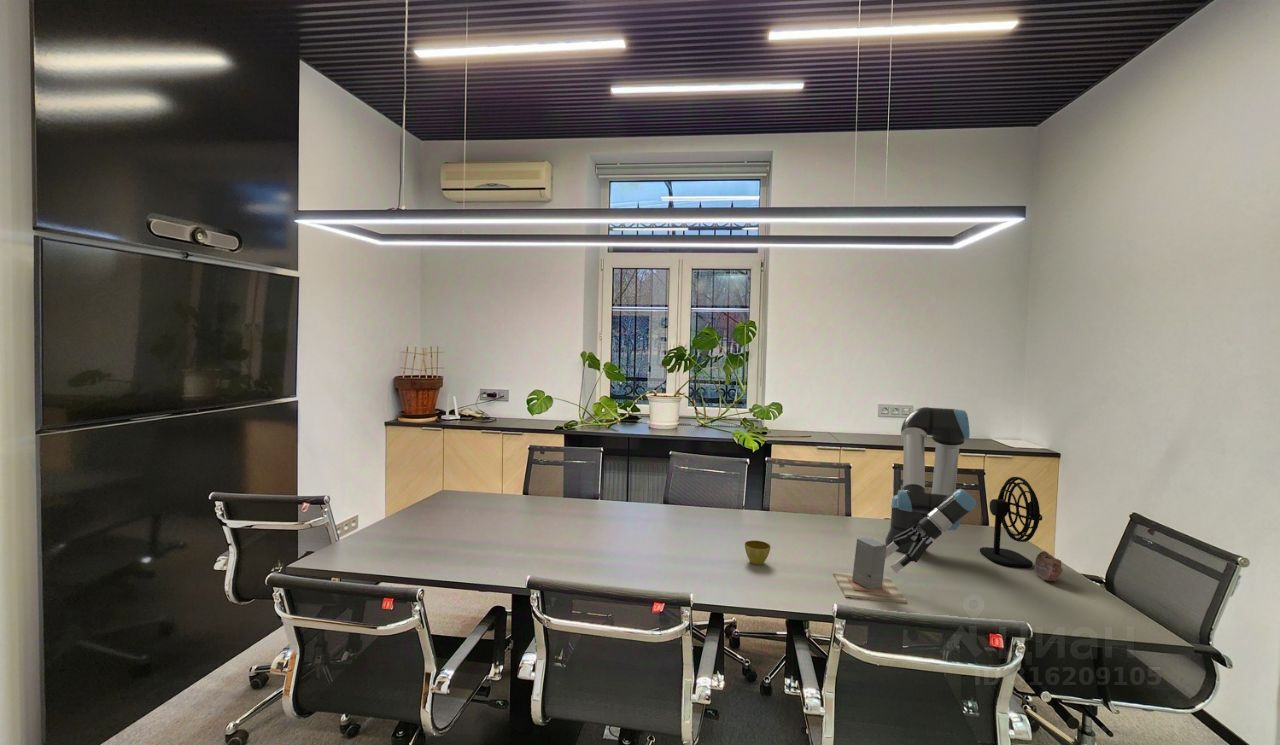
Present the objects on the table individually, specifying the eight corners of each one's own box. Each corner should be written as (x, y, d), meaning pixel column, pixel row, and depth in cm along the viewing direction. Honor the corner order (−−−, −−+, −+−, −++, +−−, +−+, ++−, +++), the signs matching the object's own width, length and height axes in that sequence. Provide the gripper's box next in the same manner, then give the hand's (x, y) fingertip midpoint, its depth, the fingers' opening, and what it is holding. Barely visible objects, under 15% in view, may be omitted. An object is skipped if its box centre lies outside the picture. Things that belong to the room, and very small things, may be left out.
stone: (1031, 572, 220) (1033, 547, 220) (1056, 574, 218) (1057, 549, 218) (1046, 584, 208) (1048, 558, 208) (1072, 587, 206) (1074, 561, 206)
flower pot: (770, 568, 214) (771, 550, 214) (743, 565, 216) (744, 547, 216) (769, 559, 224) (770, 541, 224) (744, 556, 226) (744, 539, 226)
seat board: (833, 574, 210) (833, 571, 210) (888, 579, 207) (888, 576, 207) (845, 597, 190) (845, 593, 190) (906, 603, 187) (906, 599, 187)
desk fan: (1050, 573, 219) (1055, 486, 218) (1002, 570, 221) (1007, 483, 220) (1012, 550, 246) (1017, 471, 245) (970, 547, 248) (974, 469, 247)
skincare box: (851, 581, 201) (853, 538, 201) (866, 578, 204) (868, 536, 204) (870, 590, 193) (872, 545, 193) (885, 587, 196) (887, 543, 196)
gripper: (956, 544, 182) (906, 585, 185) (929, 521, 207) (885, 558, 209) (940, 526, 183) (890, 567, 185) (914, 506, 207) (871, 543, 210)
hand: (887, 562), depth 197 cm, fingers open, 13 cm apart
